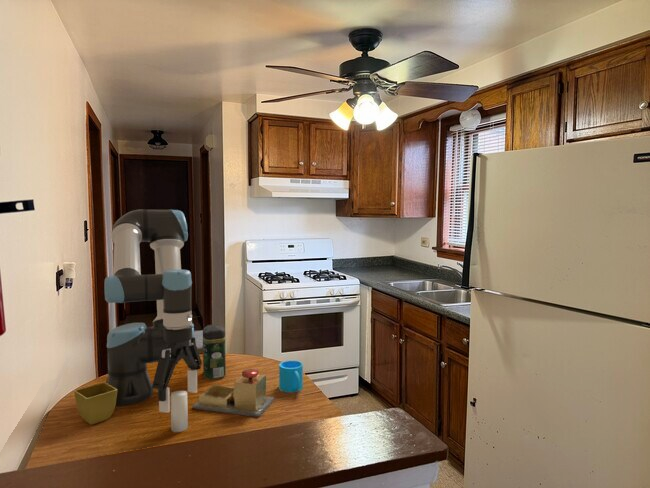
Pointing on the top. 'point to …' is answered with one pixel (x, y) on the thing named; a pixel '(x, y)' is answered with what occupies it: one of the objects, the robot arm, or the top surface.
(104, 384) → the flower pot
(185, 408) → the white rounded cylinder
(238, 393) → the red push button box
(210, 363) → the coffee jar
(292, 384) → the mug
